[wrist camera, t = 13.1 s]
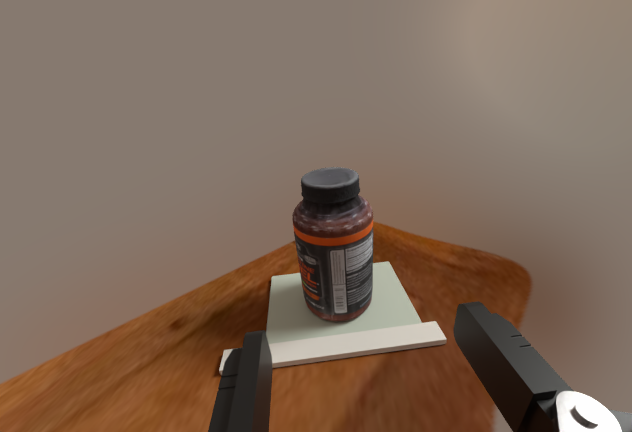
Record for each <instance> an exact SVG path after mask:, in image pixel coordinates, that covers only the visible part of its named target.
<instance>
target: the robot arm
mask: <svg viewBox="0 0 632 432" xmlns="http://www.w3.org/2000/svg"><path fill="white" fill-rule="evenodd" d="M454 337H455V340H456V342H457V344H458V346H459V348H460V349H461V351H462V352H463V354H464V356H465V357H466V359H467V360H468V362H469V363H470V365H471V367H472V368H473V370H474V371H475V373H476V374H477V376H478V378H479V379H480V381H481V382H482V384H483V385H484V387H485V388H486V390H487V392H488V393H489V395H490V396H491V398H492V399H493V401H494V403H495V404H496V406H497V407H498V409H499V410H500V412H501V414H502V415H503V417H504V418H505V420H506V421H507V423H508V424H509V426H510V428H511V429H512V431H513V432H632V414H630V413H625V412H619V411H613V410H609V409H606V408H605V407H604V406H602V405H601V404H600V403H599V402H597V401H595V400H594V399H592V398H590V397H588V396H586V395H584V394H581V393H578V392H575V391H573V390H572V389H571V388H570V387H569V386H568V385H567V384H566V383H565V381H564V380H562V378H560V376H559V375H558V374H557V373H556V372H555V371H554V370H553V368H552V367H551V366H550V365H549V364H548V363H547V362H546V361H545V360H544V359H543V357H542V356H541V355H540V354H539V353H538V352H537V351H536V350H535V349H534V348H533V347H531V344H530V343H529V342H528V341H527V340H526V339H525V338H524V337H522V335H521V334H520V332H519V331H518V330H517V329H516V328H515V327H514V326H513V325H512V324H511V323H510V322H509V321H507V320H506V319H504V318H503V317H501V316H500V315H498V314H497V313H494V314H491V313H490V312H489V311H488V310H487V308H486V307H485V306H484V305H483V304H482V303H481V302H471V303H463V304H459V305H458V308H457V314H456V319H455V325H454ZM271 385H272V355H271V351H270V347H269V343H268V340H267V336H266V332H265V330H262V331H255V332H247V333H246V334H245V337H244V342H243V347H242V348H237V349H233V350H232V351H231V353H230V354H229V356H228V358H227V359H226V361H225V363H224V367H223V371H222V376H221V380H220V384H219V388H218V389H219V391H218V392H217V397H216V401H215V405H214V409H213V413H212V418H211V422H210V426H209V430H208V432H269V416H270V401H271Z"/></svg>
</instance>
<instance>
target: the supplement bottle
mask: <svg viewBox="0 0 632 432" xmlns="http://www.w3.org/2000/svg"><path fill="white" fill-rule="evenodd" d="M301 186H302V196H303V200H302V201H301V202H300V203H299V204H298V205H297V207H296V208H295V210H294V212H293V226H294V234H295V240H296V247H297V254H298V261H299V267H300V275H301V281H302V287H303V294H304V298H305V302H306V304H307V307H308V308H309V309H310V310H311V312H313V313H314V314H315V315H317V316H318V317H320V318H322V319H325V320H329V321H346V320H350V319H354V318H356V317H358V316H359V315H361V314H362V313H363V312H364V311H365V310H367V308H368V307H369V305H370V303H371V300H372V289H373V212H372V208H371V206H370V204H369V203H368V202H367V200H366V199H364V198H363V197H361V196H359V195H358V193H359V192H360V188H359V175H358V173H357V172H356V171H354V170H350V169H347V168H340V167H338V168H337V167H336V168H334V167H331V168H322V169H318V170H314V171H311V172H309V173H307V174H305V175H304V176H303V177H302V179H301Z"/></svg>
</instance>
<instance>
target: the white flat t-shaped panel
mask: <svg viewBox="0 0 632 432" xmlns="http://www.w3.org/2000/svg"><path fill="white" fill-rule="evenodd" d="M266 336H267V340H268V343H269V347H270V351H271V355H272V368H277V367H284V366H291V365H298V364H305V363H313V362H320V361H327V360H334V359H341V358H349V357H356V356H363V355H370V354H377V353H385V352H392V351H399V350H406V349H413V348H421V347H428V346H435V345H442V344H446V340H447V339H446V337H445V336H444V334H443V332H442V331H441V329H440V327H439V326H438V324H437V323H436V321H434V322H427V323H422V322H421V320H420V318H419V316H418V314H417V313H416V311H415V309H414V307H413V305H412V303H411V301H410V300H409V298H408V296H407V294H406V292H405V290H404V289H403V287H402V285H401V283H400V281H399V279H398V278H397V276H396V274H395V272H394V270H393V268H392V266H391V265H390V263H389V262H381V263H373V289H372V300H371V303H370V305H369V307H368V308H367V310H365V311H364V312H363V313H362V314H361V315H359V316H358V317H356V318H354V319H350V320H346V321H329V320H325V319H322V318H320V317H318V316H317V315H315V314H314V313H313V312H311V310H310V309H309V308H308V307H307V304H306V302H305V298H304V294H303V287H302V281H301V275H300V273H296V274H288V275H280V276H272V280H271V290H270V300H269V310H268V319H267V329H266ZM236 349H237V348H236ZM232 350H233V349H229V350H224V353H223V357H222V361H221V365H220V369H219V372H220V374H221V375H222V371H223V367H224V363H225V361H226V359H227V358H228V356H229V354H230V353H231V351H232Z"/></svg>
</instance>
